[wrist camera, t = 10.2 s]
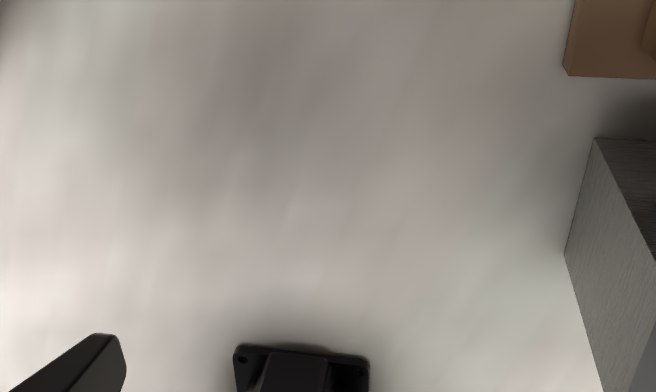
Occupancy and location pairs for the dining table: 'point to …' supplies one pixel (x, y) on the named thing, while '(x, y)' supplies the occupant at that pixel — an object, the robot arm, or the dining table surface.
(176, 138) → the dining table surface
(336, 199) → the dining table surface
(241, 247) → the dining table surface
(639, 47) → the pipe cradle
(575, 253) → the valve block
